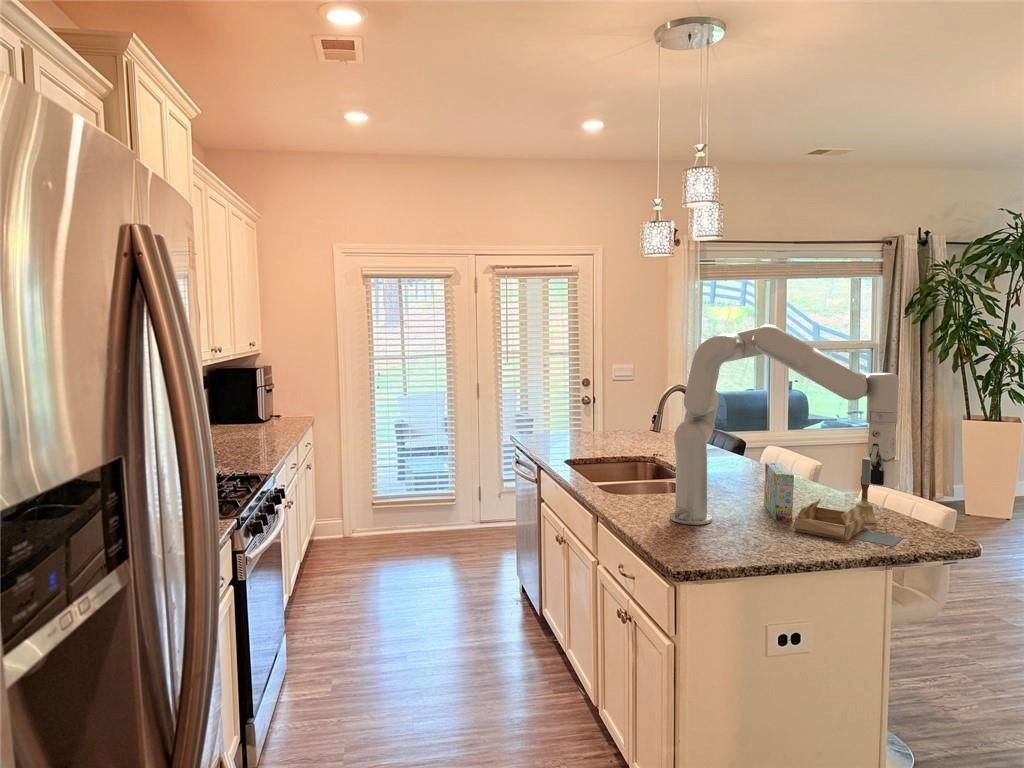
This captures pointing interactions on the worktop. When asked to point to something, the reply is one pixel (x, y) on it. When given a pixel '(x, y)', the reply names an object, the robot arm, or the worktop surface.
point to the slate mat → (879, 538)
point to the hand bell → (866, 505)
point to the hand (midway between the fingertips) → (879, 481)
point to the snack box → (778, 491)
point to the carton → (829, 521)
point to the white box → (889, 472)
